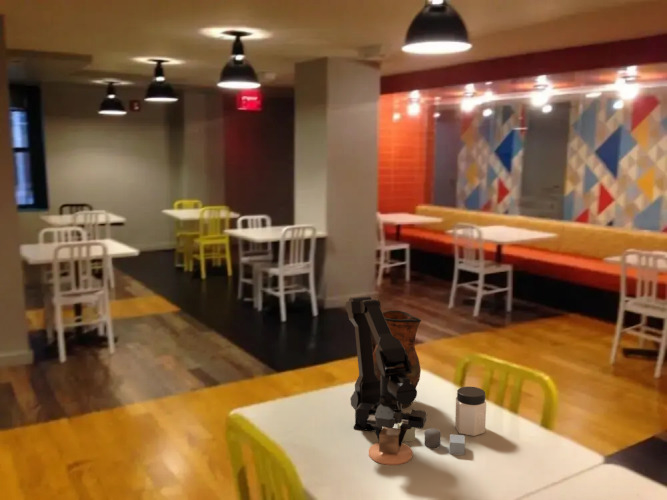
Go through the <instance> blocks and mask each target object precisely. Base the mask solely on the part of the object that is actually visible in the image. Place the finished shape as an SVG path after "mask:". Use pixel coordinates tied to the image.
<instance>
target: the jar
mask: <svg viewBox="0 0 667 500" xmlns="http://www.w3.org/2000/svg"><path fill="white" fill-rule="evenodd" d="M456 392H457V393H456V398H455V418H454V419H455V425H454V426H455V428H456V431H458V434H459V435H466V436H472V437H475V436H476V437H477V436H479V435H481V434H484V433H486V420H487V419H486V417H487V416H486V414H487V402H486V391H485V390H484V389H482V388H480V387H476V386H462V387H459V388H457V390H456Z"/></svg>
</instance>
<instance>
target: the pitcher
mask: <svg viewBox="0 0 667 500" xmlns="http://www.w3.org/2000/svg"><path fill="white" fill-rule="evenodd" d="M382 313H383V315H384V317H385V320H386V322H387V324H388V327H389V329H390V331H391V333H392V335H393V336H394V337H395V338H397V339H398V340H400V342H401V344H402V345H403V347H404V348H405V350H406V352H407V354H408V357H409V360H410V363H411V366H412V367H411V372H412V373H411V374H406V377H408V378H410V383H412V384H413V385H414V386H415V388H416V389H417V386H418V384H419V383H420V382H419V381H420V380H421V371H422V370H421V363H420V358H419V356H418V354H417V351H416V350H417V349H416V345H415V343H416V341H415V340H416V335H417V331H418V328H419V326H420V323H421V322H422V319H421V318H418V317H416V316H413V315H411V314H410V313H407V312H406V311H401V310H386V311H382ZM374 341H375V340H374V339H372V349H373V359H374V369H375V375H376V377H377V378H378V379H379V380H381V371H380V369H379V366H378V363H377V360H376V349H377V344H376V342H374ZM400 367H404V364H403V365H402V366H396V367H395V368H400ZM410 406H412V403H410V404H408V405H403V404H402V409H407V408H409V407H410Z"/></svg>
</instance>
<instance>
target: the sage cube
mask: <svg viewBox="0 0 667 500" xmlns="http://www.w3.org/2000/svg"><path fill="white" fill-rule="evenodd" d="M401 424H402V421H401V423H397V424H396V425H397V427H396V428H398V429H400V426H401ZM415 440H416V428H414V427H412V428H411V429H407V431H406V434H405V436H404V439H403V442H411V441H412V442H413V441H415Z"/></svg>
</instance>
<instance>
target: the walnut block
mask: <svg viewBox="0 0 667 500" xmlns="http://www.w3.org/2000/svg"><path fill="white" fill-rule="evenodd" d="M399 438H400V429H398V428H397V427H393V428H387V427H382V431H381V432H380V434H379V440H378V443H379V452H385V453H392V454H398V452H399V450H400V448H401V447H399Z"/></svg>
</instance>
